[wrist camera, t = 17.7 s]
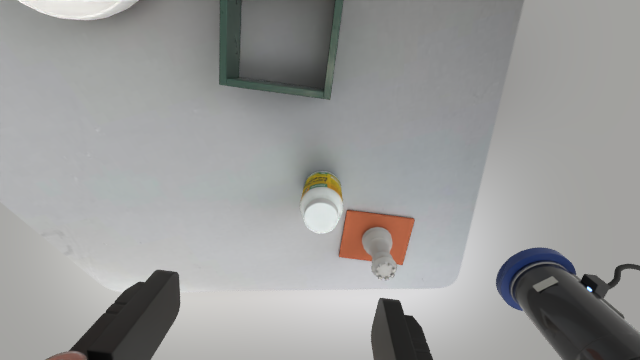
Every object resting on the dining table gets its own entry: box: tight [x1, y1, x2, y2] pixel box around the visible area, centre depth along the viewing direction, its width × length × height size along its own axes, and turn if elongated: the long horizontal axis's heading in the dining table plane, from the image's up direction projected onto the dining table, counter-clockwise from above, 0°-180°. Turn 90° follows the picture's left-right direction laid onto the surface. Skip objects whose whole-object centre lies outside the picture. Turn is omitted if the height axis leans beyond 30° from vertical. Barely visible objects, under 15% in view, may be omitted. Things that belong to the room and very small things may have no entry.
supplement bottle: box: [300, 171, 343, 234], centre depth 38 cm, size 5×5×10 cm
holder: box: [219, 0, 343, 100], centre depth 34 cm, size 13×13×5 cm
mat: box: [339, 210, 414, 265], centre depth 45 cm, size 10×8×1 cm
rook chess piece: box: [362, 227, 397, 281], centre depth 41 cm, size 4×4×8 cm
